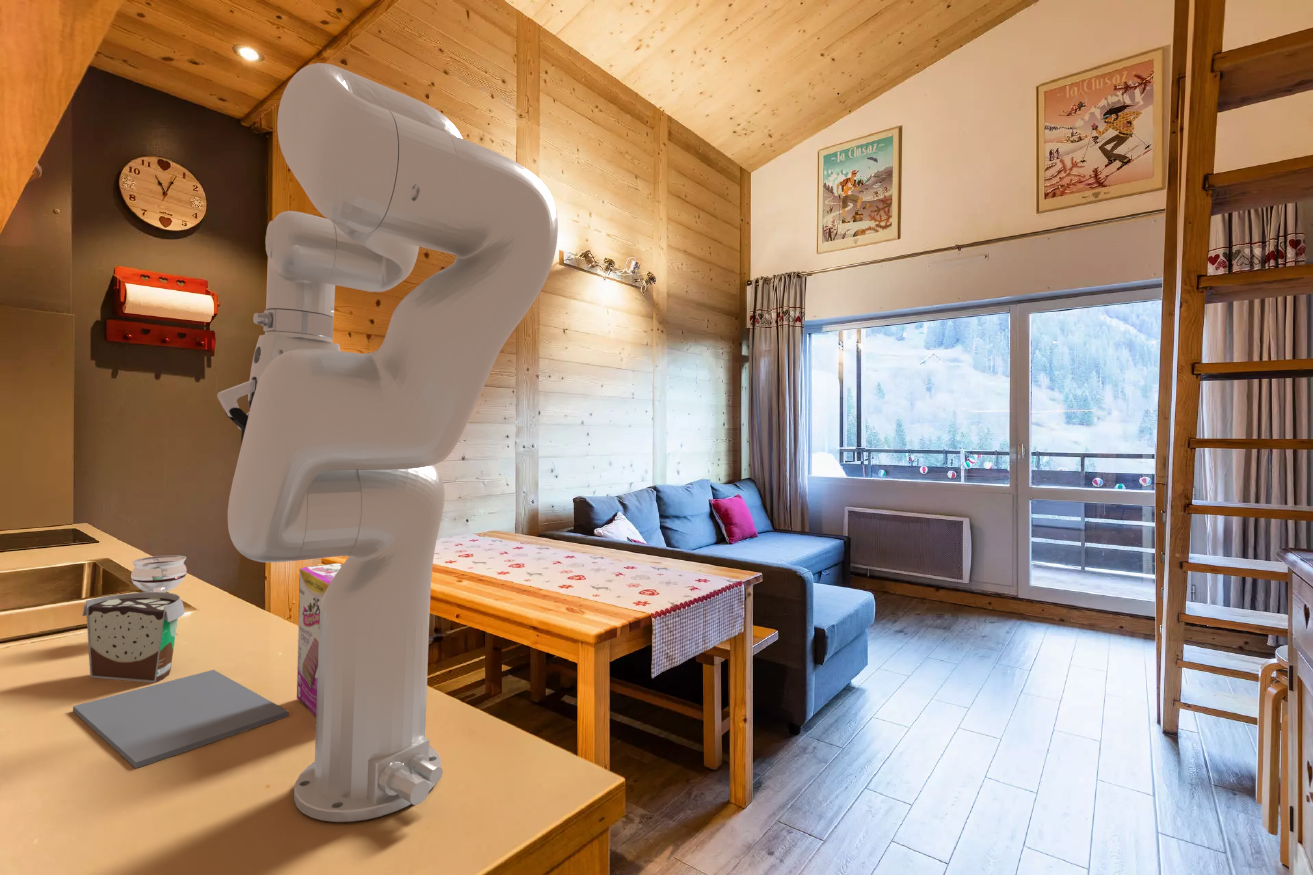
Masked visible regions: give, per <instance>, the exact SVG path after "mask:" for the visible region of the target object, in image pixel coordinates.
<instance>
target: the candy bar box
mask: <svg viewBox="0 0 1313 875" xmlns="http://www.w3.org/2000/svg"><path fill="white" fill-rule="evenodd" d="M342 565H343V564H342V563H339V562H337V563H329V564H320V565H315V566H313V565H310V566H306V567H302V568H301V567H300V568H299V570H298V571H299V577H298V578H299V580H298V581H299V582H298V583H299V584H298V591H299V592H298V635H297V636H298V640H297V678H296V679H297V680H296V681H297V682H296V684H297V685H296V699H297V700H298V701H300V703H301V704H302V705H303V706H305V707H306V709H307V710H308V711H310V713H311V714H312V715H313V716H315V717H316V710H317V681H318V651H319V625H320V609H321V604H322V599H323V597H324V594H325V592H326V589H327V588H328V586H329V584H330V582H331V581H332V579H333V578H334V576H335V575H336V573H337V572H338V571H339V569H340V568H341V567H342Z"/></svg>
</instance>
